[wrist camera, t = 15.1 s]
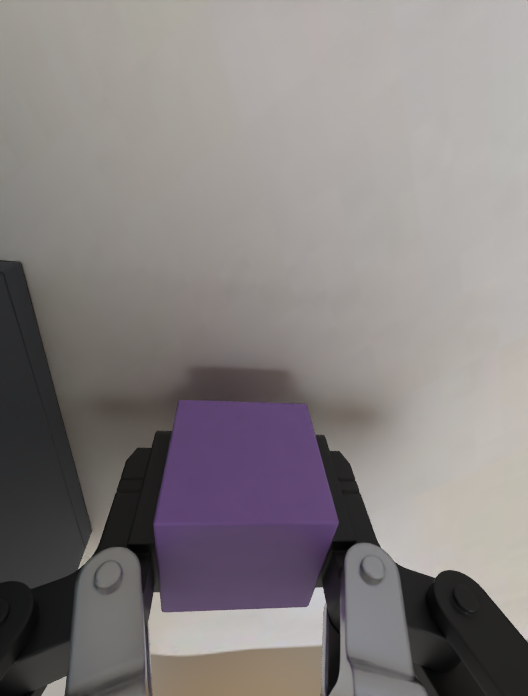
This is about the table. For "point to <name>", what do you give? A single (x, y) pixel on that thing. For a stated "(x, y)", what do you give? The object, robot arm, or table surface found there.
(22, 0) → the table surface
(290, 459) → the purple cube
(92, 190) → the table surface
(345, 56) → the table surface
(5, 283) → the dark grey box
